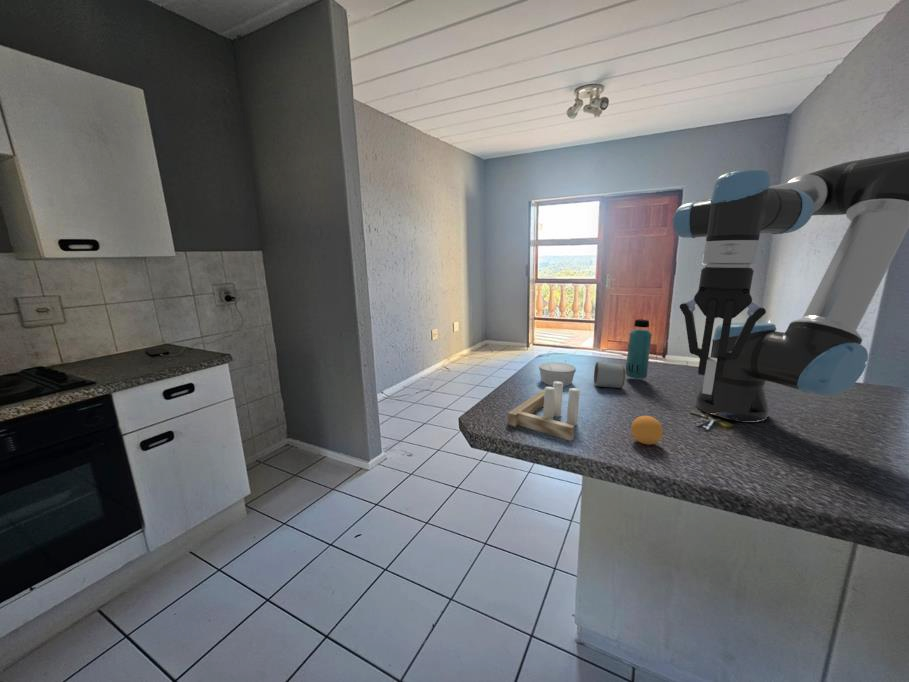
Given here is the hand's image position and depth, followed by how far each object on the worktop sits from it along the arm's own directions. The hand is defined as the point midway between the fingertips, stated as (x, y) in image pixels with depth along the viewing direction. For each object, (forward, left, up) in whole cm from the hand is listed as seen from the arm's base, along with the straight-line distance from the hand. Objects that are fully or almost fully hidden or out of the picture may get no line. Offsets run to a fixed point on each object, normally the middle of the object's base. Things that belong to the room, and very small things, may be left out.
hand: (707, 391), depth 70 cm
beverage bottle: (+20, -44, -14) cm, 51 cm away
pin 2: (+30, -3, -14) cm, 33 cm away
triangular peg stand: (+30, 0, -14) cm, 33 cm away
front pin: (+25, 0, -14) cm, 29 cm away
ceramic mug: (+27, -34, -14) cm, 45 cm away
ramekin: (+40, -27, -14) cm, 51 cm away
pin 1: (+30, +2, -14) cm, 34 cm away
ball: (+9, 0, -11) cm, 14 cm away
